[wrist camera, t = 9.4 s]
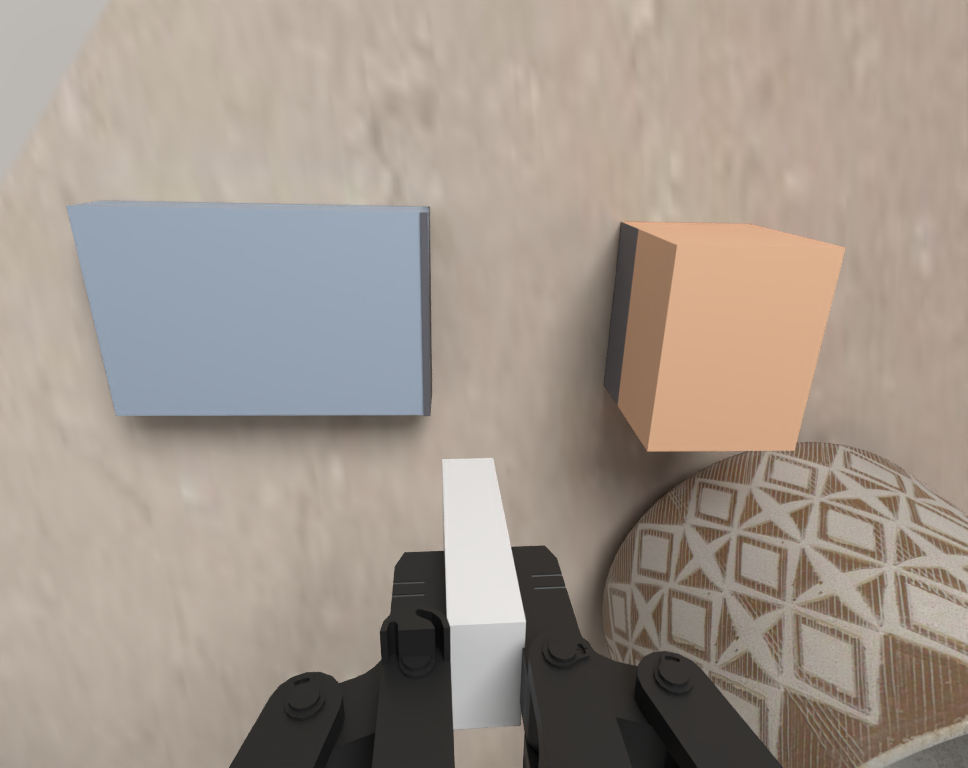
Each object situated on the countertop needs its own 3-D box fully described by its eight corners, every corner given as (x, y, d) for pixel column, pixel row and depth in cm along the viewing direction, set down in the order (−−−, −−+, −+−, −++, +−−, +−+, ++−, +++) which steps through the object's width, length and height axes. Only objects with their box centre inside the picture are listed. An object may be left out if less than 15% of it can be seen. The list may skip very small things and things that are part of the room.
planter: (615, 714, 38) (723, 1087, 23) (571, 467, 31) (686, 774, 16) (905, 657, 38) (1214, 1001, 22) (930, 391, 30) (1412, 633, 15)
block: (604, 384, 29) (647, 451, 23) (621, 221, 26) (677, 245, 20) (719, 384, 30) (794, 450, 23) (749, 223, 27) (845, 247, 20)
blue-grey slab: (143, 393, 28) (114, 416, 26) (102, 200, 25) (64, 206, 22) (432, 393, 29) (430, 415, 27) (429, 206, 26) (427, 212, 23)
